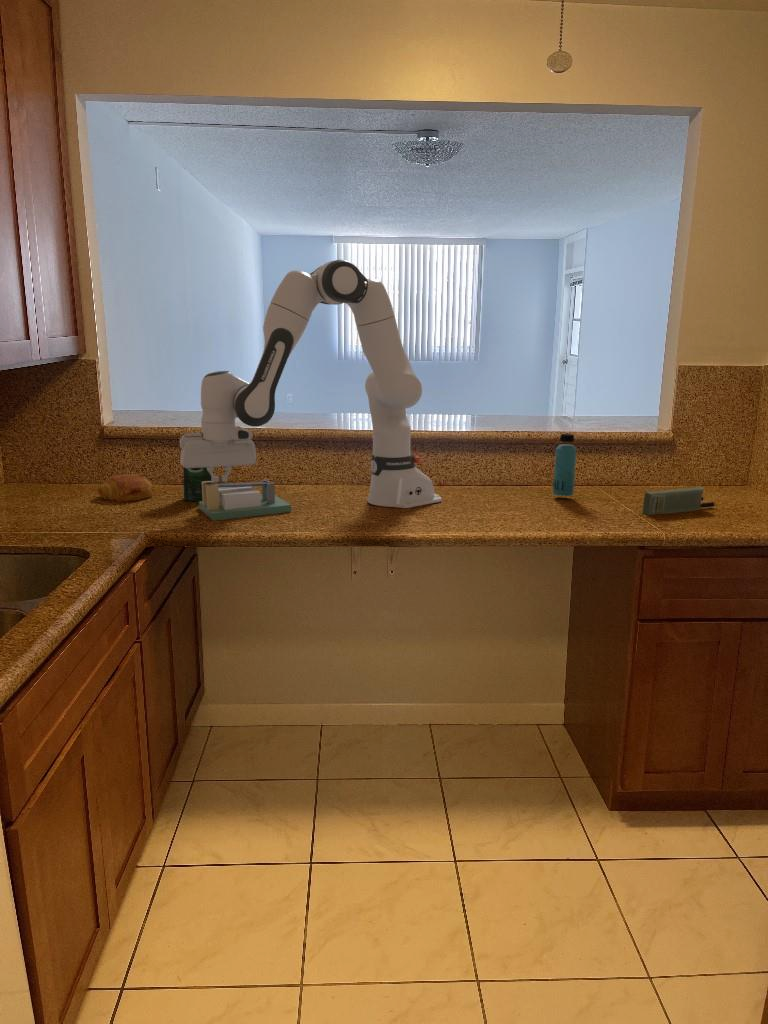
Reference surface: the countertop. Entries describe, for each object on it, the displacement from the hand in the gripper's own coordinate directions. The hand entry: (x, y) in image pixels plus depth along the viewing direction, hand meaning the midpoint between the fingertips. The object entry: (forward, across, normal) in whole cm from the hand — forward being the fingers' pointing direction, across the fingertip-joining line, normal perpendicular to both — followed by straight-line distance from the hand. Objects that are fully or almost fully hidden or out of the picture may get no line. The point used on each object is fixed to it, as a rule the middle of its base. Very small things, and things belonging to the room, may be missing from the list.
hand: (219, 482), depth 190 cm
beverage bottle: (+6, +99, -28) cm, 103 cm away
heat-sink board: (+8, +7, 0) cm, 11 cm away
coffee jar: (+9, -1, +19) cm, 21 cm away
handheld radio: (+6, +119, -55) cm, 131 cm away
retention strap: (+2, +6, 0) cm, 6 cm away
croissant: (+10, -20, +31) cm, 38 cm away
